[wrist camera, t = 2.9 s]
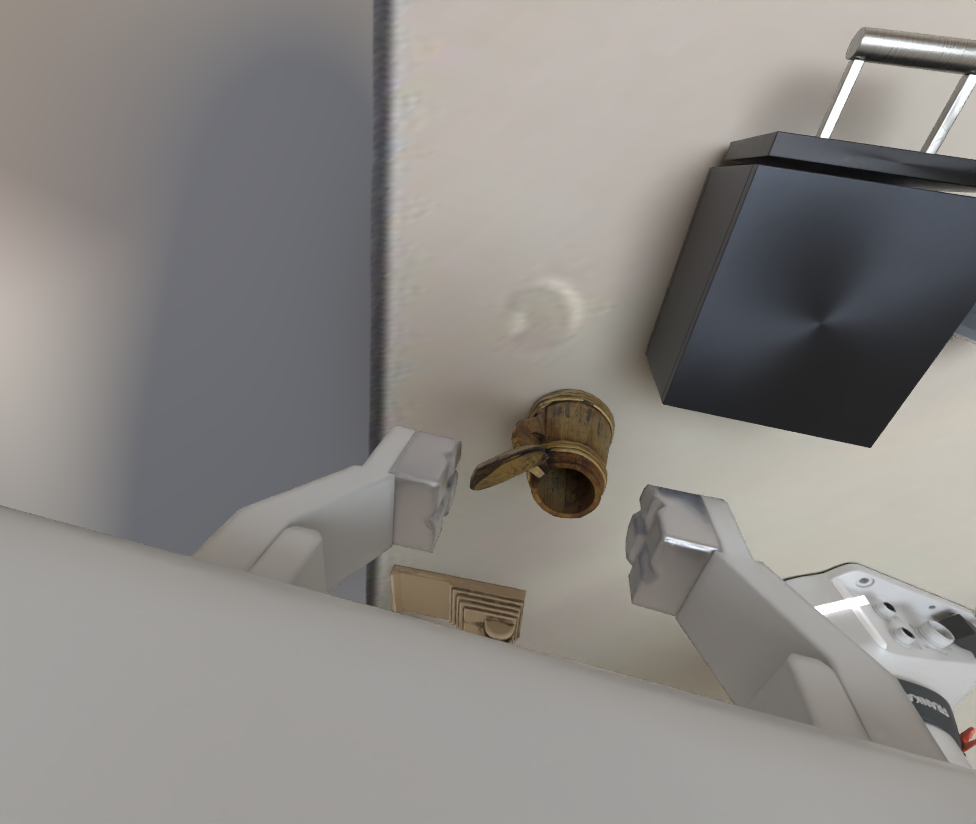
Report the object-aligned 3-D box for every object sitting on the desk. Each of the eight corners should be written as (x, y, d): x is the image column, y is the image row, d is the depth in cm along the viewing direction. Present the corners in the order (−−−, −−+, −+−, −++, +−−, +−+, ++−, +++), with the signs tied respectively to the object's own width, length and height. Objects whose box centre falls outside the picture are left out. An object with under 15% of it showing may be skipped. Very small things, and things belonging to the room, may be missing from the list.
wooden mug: (546, 339, 42) (525, 434, 27) (631, 432, 45) (656, 566, 30) (483, 391, 46) (433, 499, 31) (565, 473, 49) (557, 610, 34)
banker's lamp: (518, 643, 66) (463, 1036, 36) (390, 615, 69) (239, 957, 39) (528, 572, 58) (469, 999, 28) (383, 545, 61) (189, 903, 31)
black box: (709, 167, 33) (758, 163, 24) (911, 198, 32) (1045, 207, 22) (644, 353, 41) (662, 404, 32) (804, 385, 39) (870, 448, 30)
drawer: (765, 45, 29) (831, -2, 21) (983, 73, 27) (1136, 33, 20) (662, 329, 39) (682, 367, 31) (818, 360, 37) (878, 406, 30)
